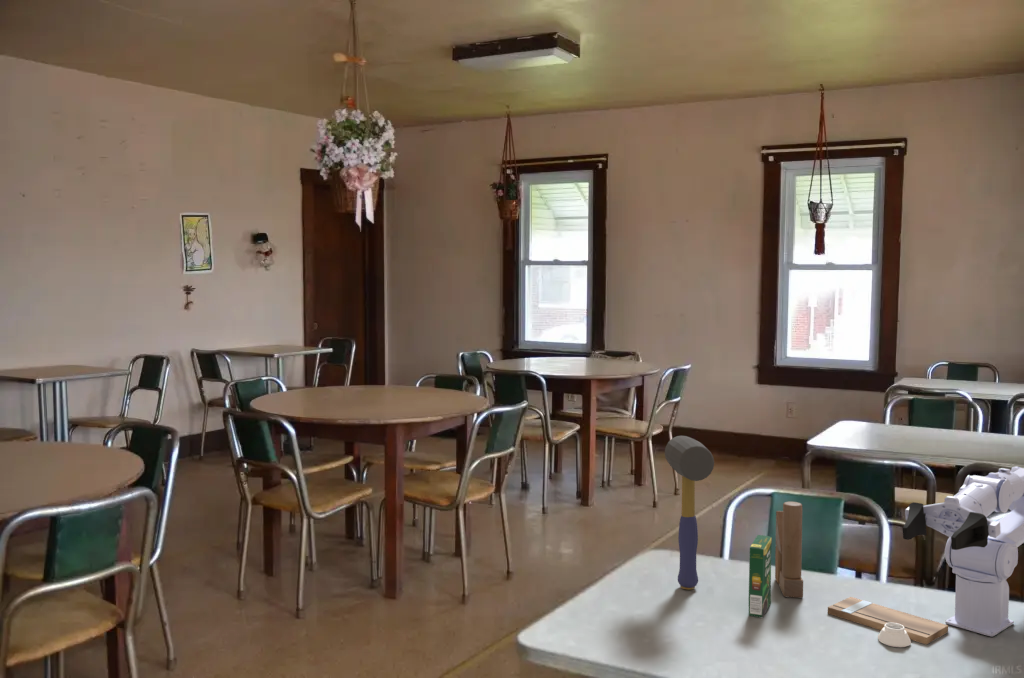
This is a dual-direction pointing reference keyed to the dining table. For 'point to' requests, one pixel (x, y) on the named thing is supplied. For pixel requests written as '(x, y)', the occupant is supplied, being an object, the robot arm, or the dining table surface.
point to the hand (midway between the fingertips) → (928, 538)
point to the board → (888, 619)
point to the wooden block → (789, 550)
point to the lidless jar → (894, 635)
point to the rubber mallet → (688, 499)
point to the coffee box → (760, 576)
